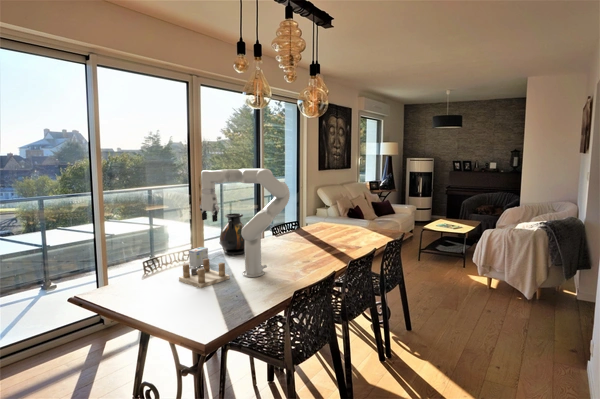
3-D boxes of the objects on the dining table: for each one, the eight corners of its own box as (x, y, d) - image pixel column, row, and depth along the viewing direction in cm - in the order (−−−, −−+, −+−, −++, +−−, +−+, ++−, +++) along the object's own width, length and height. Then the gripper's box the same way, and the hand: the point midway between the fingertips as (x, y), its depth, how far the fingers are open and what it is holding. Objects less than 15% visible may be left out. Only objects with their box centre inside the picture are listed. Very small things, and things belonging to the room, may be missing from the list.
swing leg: (207, 269, 232) (206, 258, 231) (210, 270, 229) (210, 259, 229) (189, 274, 222) (189, 263, 221) (193, 275, 220) (193, 264, 219)
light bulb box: (201, 262, 255) (200, 246, 254) (208, 263, 252) (208, 247, 250) (189, 266, 246) (188, 249, 245) (196, 267, 243) (196, 251, 241)
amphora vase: (245, 257, 267) (244, 217, 263) (215, 256, 270) (214, 216, 267) (253, 249, 288) (252, 212, 284) (226, 248, 291) (224, 212, 288)
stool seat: (207, 272, 233) (207, 257, 232) (229, 278, 221) (229, 263, 220) (179, 280, 218) (178, 265, 217) (200, 288, 206) (199, 271, 204)
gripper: (223, 191, 221) (224, 221, 223) (204, 190, 232) (205, 218, 234) (212, 192, 215) (213, 223, 217) (194, 191, 226) (195, 220, 228)
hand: (209, 220), depth 226 cm, fingers open, 9 cm apart
